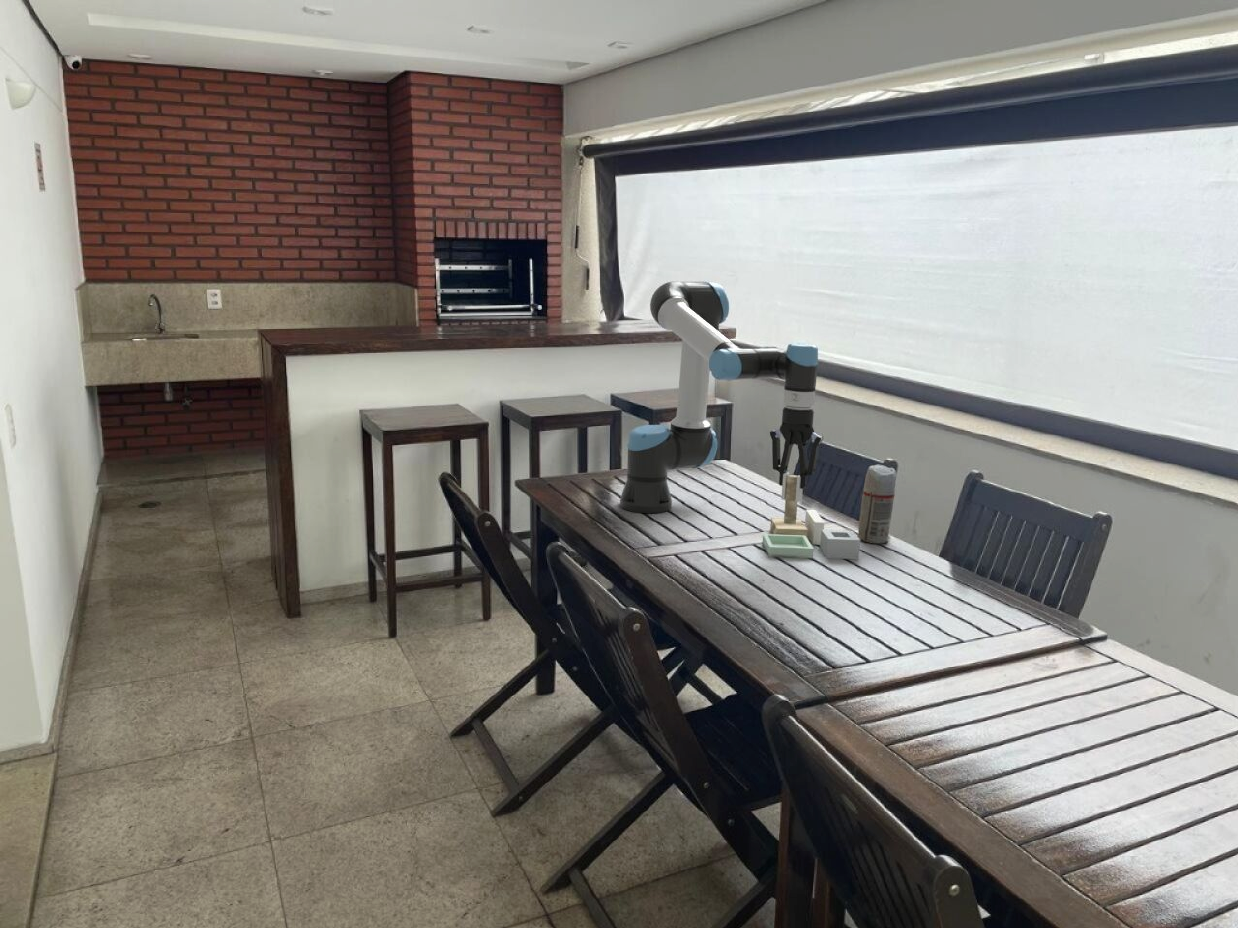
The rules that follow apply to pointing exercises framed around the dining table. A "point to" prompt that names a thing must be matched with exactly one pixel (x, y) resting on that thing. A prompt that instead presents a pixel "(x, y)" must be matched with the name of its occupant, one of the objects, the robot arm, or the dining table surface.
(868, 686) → the dining table surface
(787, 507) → the dowel
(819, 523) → the block
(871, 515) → the spray can
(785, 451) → the robot arm
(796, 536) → the tray
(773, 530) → the grooved wooden block
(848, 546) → the socket block
